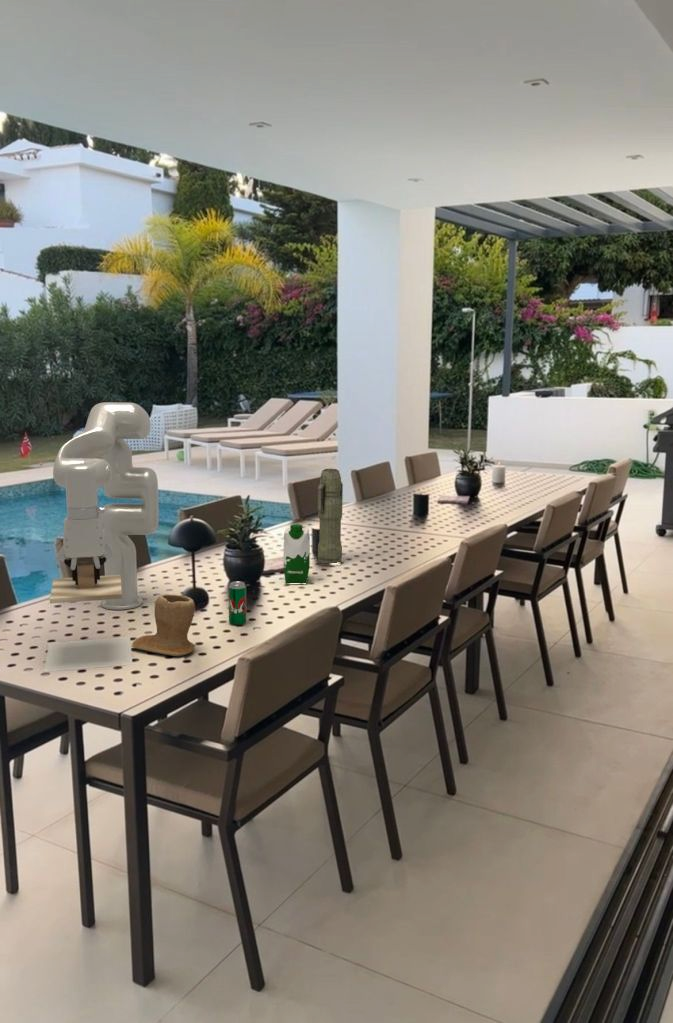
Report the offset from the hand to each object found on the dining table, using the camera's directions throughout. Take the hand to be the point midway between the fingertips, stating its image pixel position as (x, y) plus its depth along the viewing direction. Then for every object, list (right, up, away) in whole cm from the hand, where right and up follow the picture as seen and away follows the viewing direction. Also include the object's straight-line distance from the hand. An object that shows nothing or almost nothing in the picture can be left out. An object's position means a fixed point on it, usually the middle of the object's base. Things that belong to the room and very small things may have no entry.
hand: (86, 582), depth 218 cm
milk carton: (+50, -6, +73) cm, 89 cm away
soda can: (+35, -15, +30) cm, 48 cm away
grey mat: (0, -19, +3) cm, 20 cm away
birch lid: (0, -2, 0) cm, 2 cm away
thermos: (+61, -1, +98) cm, 115 cm away
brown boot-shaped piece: (+19, -19, +8) cm, 28 cm away
